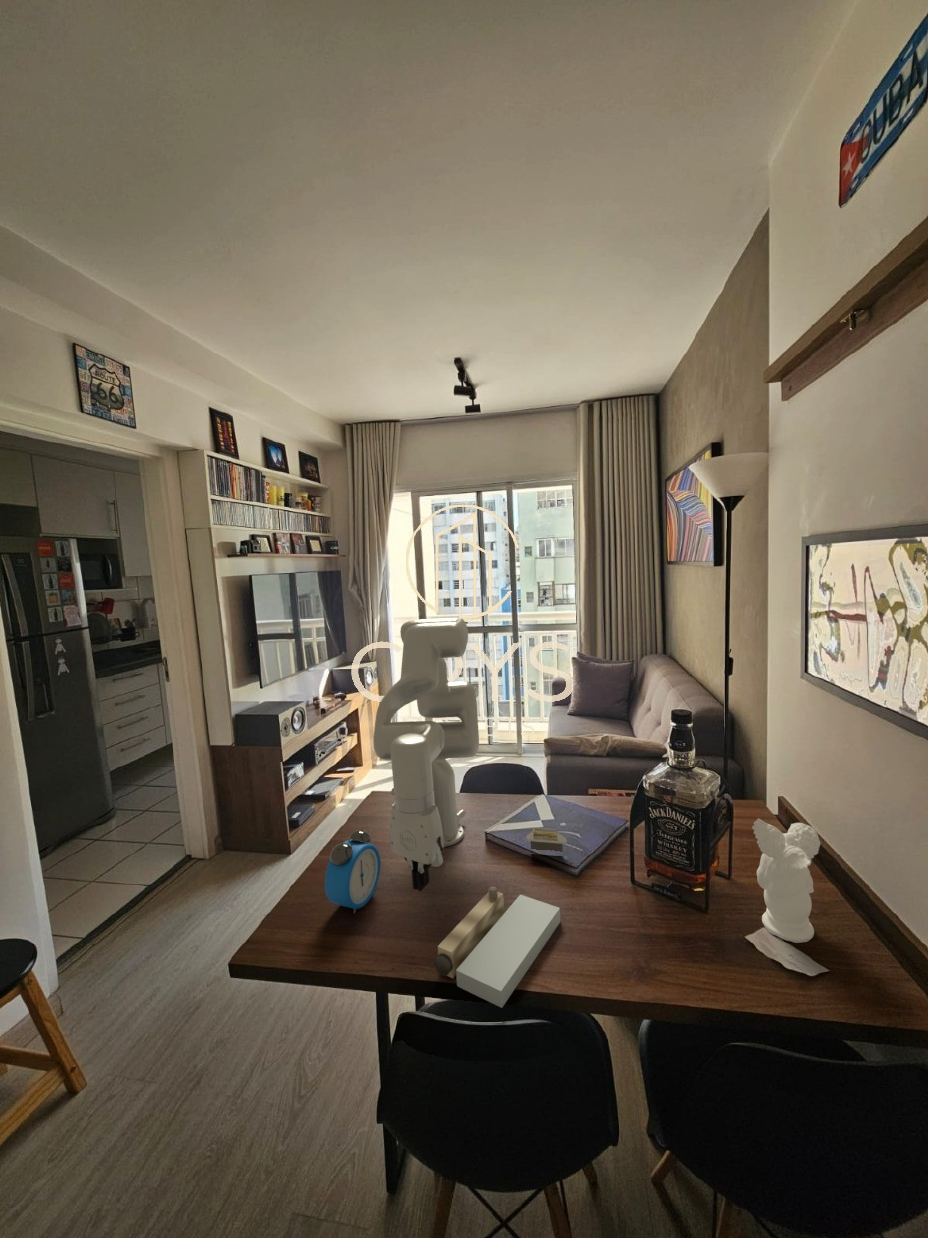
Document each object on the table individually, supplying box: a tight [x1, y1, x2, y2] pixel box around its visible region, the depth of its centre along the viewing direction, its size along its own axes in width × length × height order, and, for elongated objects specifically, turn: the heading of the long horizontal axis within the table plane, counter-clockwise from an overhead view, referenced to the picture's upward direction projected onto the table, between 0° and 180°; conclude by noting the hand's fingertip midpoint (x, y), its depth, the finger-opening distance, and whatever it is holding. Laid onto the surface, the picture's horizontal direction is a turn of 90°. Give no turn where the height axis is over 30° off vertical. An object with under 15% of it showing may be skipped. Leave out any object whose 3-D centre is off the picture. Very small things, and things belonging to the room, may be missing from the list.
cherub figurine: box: [752, 817, 821, 944], centre depth 97 cm, size 12×12×22 cm
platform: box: [525, 827, 567, 853], centre depth 130 cm, size 12×18×7 cm, turn 75°
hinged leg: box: [433, 886, 505, 979], centre depth 100 cm, size 20×3×6 cm, turn 147°
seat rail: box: [455, 894, 561, 1009], centre depth 98 cm, size 24×9×3 cm, turn 146°
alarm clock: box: [324, 828, 381, 914], centre depth 115 cm, size 13×6×15 cm, turn 156°
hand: (421, 886), depth 102 cm, fingers closed
